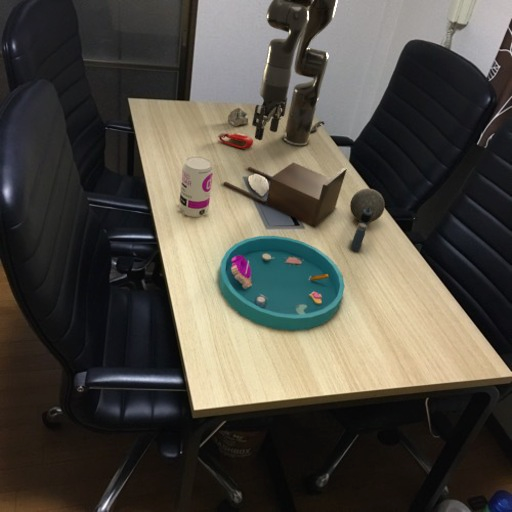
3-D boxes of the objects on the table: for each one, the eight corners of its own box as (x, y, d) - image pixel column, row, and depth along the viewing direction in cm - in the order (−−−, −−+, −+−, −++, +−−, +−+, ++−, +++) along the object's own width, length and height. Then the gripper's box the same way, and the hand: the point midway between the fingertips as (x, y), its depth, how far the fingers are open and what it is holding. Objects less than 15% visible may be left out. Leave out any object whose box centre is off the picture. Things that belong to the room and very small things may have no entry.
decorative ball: (349, 206, 159) (358, 178, 153) (380, 216, 157) (391, 188, 151) (343, 222, 151) (352, 193, 145) (375, 232, 150) (386, 204, 144)
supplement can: (213, 208, 146) (219, 162, 137) (198, 221, 140) (204, 173, 130) (188, 198, 148) (193, 152, 139) (173, 211, 142) (176, 163, 132)
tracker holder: (242, 132, 186) (260, 137, 180) (240, 144, 188) (257, 150, 181) (216, 129, 178) (233, 135, 172) (214, 142, 180) (231, 148, 173)
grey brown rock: (227, 121, 194) (229, 104, 190) (246, 122, 197) (249, 105, 193) (229, 126, 191) (232, 109, 187) (249, 127, 194) (252, 109, 190)
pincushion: (244, 176, 163) (247, 160, 160) (262, 177, 165) (265, 161, 162) (252, 196, 154) (254, 180, 151) (271, 197, 156) (274, 181, 153)
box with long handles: (249, 169, 168) (256, 129, 159) (335, 208, 157) (347, 168, 149) (223, 185, 157) (229, 144, 148) (313, 228, 146) (325, 186, 138)
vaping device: (361, 243, 144) (374, 207, 137) (358, 253, 140) (371, 217, 133) (352, 240, 144) (364, 204, 137) (349, 250, 140) (361, 214, 133)
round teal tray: (219, 242, 134) (221, 224, 130) (329, 252, 138) (334, 235, 134) (218, 325, 110) (221, 306, 107) (351, 335, 114) (358, 316, 111)
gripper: (274, 90, 133) (264, 147, 143) (299, 79, 143) (288, 132, 153) (250, 81, 135) (242, 137, 145) (277, 71, 146) (267, 124, 155)
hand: (265, 135), depth 149 cm, fingers open, 8 cm apart
